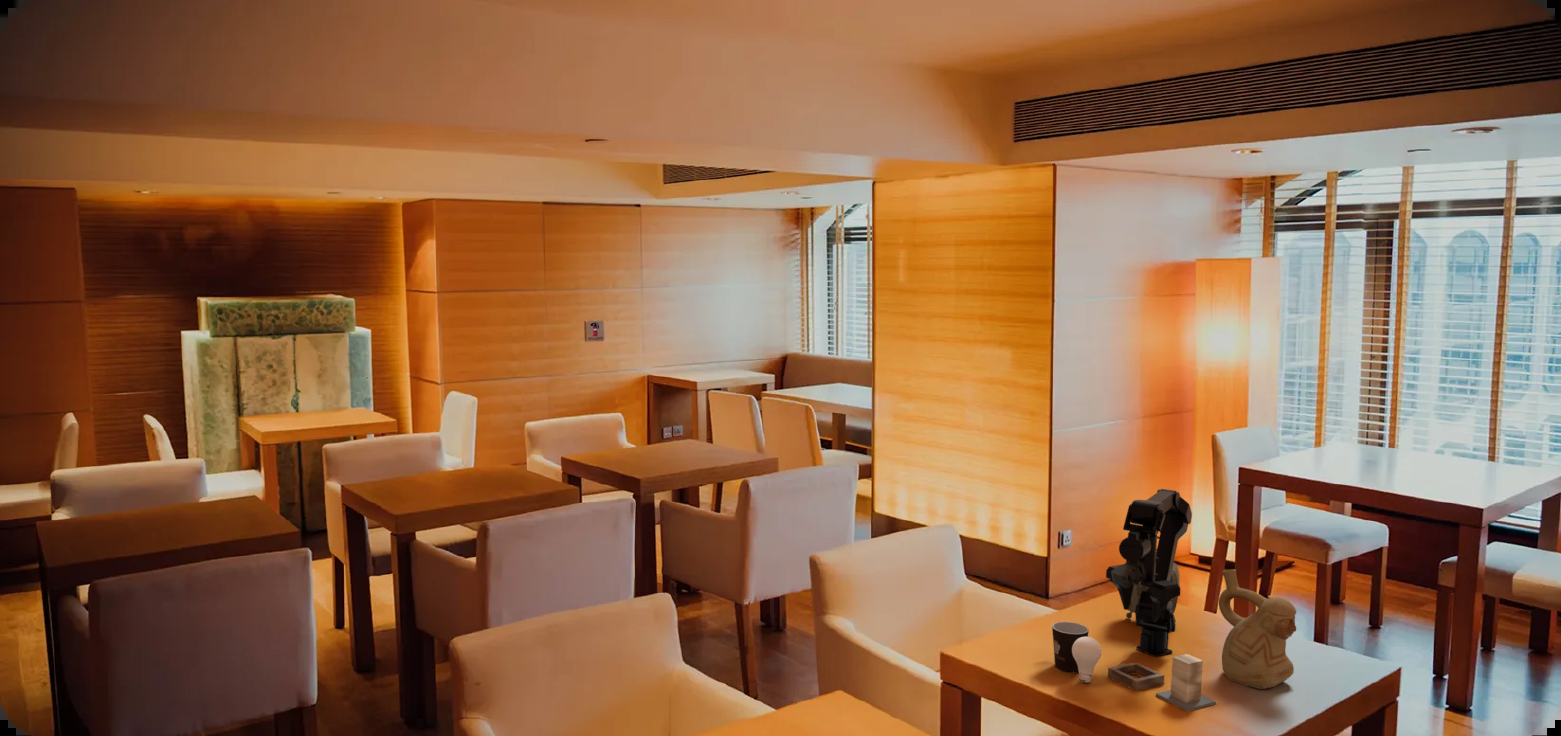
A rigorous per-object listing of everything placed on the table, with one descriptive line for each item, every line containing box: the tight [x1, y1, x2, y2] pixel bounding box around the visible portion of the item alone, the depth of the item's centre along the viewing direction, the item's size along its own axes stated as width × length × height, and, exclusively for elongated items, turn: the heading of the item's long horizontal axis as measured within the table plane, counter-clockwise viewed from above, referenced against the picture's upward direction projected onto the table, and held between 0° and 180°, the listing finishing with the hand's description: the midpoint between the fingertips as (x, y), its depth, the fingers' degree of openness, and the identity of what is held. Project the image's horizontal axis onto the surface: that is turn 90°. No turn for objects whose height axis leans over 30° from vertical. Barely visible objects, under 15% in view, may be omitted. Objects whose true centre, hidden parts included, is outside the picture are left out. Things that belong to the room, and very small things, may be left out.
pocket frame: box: [1107, 661, 1165, 691], centre depth 242 cm, size 9×9×2 cm
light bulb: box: [1072, 636, 1102, 684], centre depth 239 cm, size 7×7×11 cm
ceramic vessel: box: [1218, 568, 1297, 690], centre depth 243 cm, size 17×20×25 cm
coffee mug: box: [1051, 621, 1090, 674], centre depth 250 cm, size 12×9×10 cm
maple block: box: [1170, 653, 1204, 703], centre depth 231 cm, size 4×4×9 cm
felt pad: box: [1155, 689, 1217, 712], centre depth 231 cm, size 9×9×1 cm
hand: (1140, 615), depth 249 cm, fingers open, 9 cm apart
